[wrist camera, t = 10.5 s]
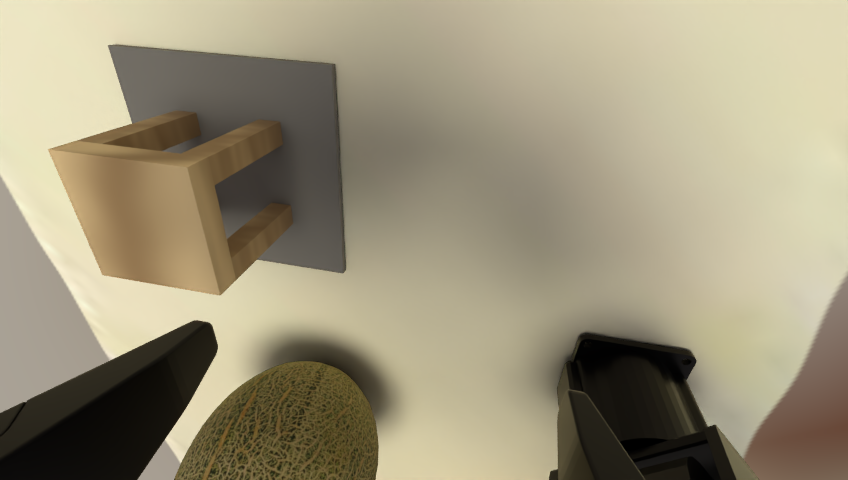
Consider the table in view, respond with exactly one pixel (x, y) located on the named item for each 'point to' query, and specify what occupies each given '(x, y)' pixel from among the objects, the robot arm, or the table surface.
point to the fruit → (288, 429)
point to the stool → (168, 201)
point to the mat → (240, 105)
